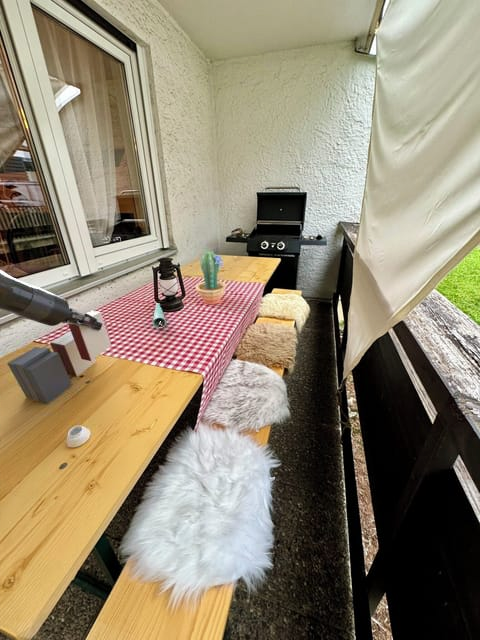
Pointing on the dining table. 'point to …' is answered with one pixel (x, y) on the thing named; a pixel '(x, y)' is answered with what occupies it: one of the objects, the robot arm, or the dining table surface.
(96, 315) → the ivory book
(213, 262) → the potted cactus
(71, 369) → the ivory books
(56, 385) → the grey books
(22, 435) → the dining table surface
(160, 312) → the long green cone
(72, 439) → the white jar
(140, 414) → the dining table surface
